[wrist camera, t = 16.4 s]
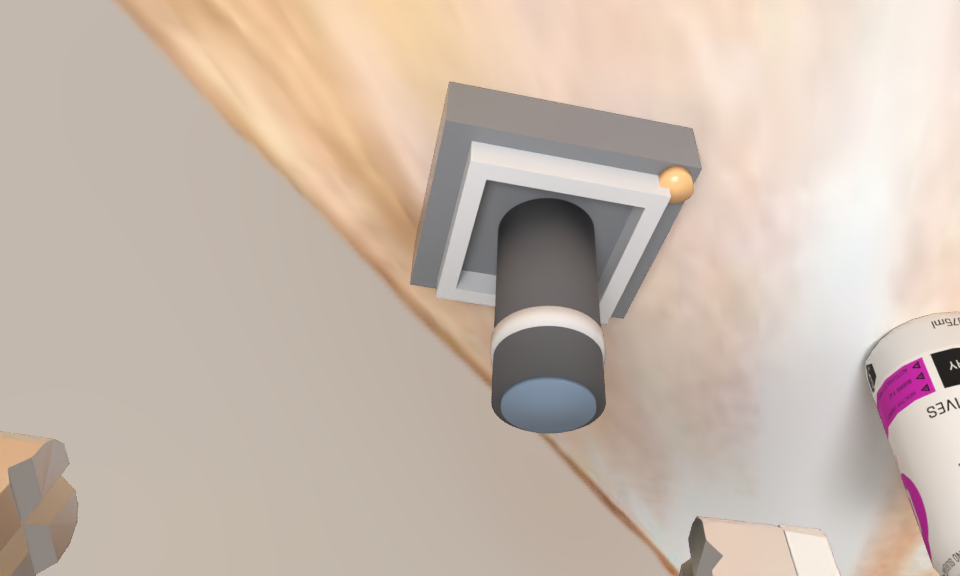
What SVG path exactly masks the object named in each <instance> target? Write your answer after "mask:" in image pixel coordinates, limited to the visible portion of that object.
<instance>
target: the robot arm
mask: <svg viewBox="0 0 960 576" xmlns="http://www.w3.org/2000/svg"><path fill="white" fill-rule="evenodd" d="M68 465H69V460H68V456H67V452H66V448H65V445H64V443H62V442H60V441H58V440H56V439H51V438H44V437H37V436H31V435H24V434H17V433H10V432H3V431H0V576H36V574H38V573H39V572H41V571H43V570H45V569H46V568H48V567H50V566H52V565H54V564H55V563H57V562H58V561H59V559H60V558H61V556H62V555H63V553H64V552H65V550H66V549H67V547H68V546H69V544H70V542H71V539H72V536H73V533H74V530H75V527H76V524H77V519H78V501H77V496H76V491H75V489H74V488H73V487H72V486H71V485H70V484H69V483H68V482H67V481H66V480H65V479H64V478H63V477H62V476H61V474H62V473H63V472H64V470H65V469H66V468H67V466H68ZM688 541H689V547H690V553H691V558H690V559H689V560H688V561H686V562H685V563H684V564H682V565H681V569H680V574H679V576H841V575H840V572H839V569H838V567H837V564H836V561H835V559H834V556H833V553H832V551H831V548H830V545H829V543H828V540H827V537H826V535H825V534H824V533H823V532H822V531H821V530H820V529H813V528H803V527H794V526H784V525H778V526H775V525H770V524H761V523H753V522H744V521H735V520H726V519H717V518H708V517H699V516H697V517H696V519H695V521H694V522H693V524H692V527H691V531H690V535H689V538H688Z"/></svg>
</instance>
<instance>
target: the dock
mask: <svg viewBox="0 0 960 576" xmlns="http://www.w3.org/2000/svg"><path fill="white" fill-rule="evenodd" d="M701 169H702V167H701V163H700V159H699V154H698V150H697V146H696V142H695V137H694V133H693V129H691V128H686V127H681V126H676V125H671V124H666V123H660V122H655V121H650V120H645V119H640V118H635V117H629V116H624V115H619V114H614V113H609V112H604V111H599V110H593V109H588V108H583V107H578V106H573V105H568V104H562V103H557V102H552V101H547V100H542V99H537V98H531V97H526V96H521V95H516V94H511V93H506V92H501V91H495V90H490V89H485V88H480V87H475V86H470V85H464V84H459V83H454V82H449V85H448V90H447V94H446V99H445V104H444V109H443V113H442V118H441V123H440V128H439V132H438V137H437V142H436V147H435V151H434V156H433V161H432V165H431V170H430V175H429V180H428V184H427V189H426V194H425V199H424V203H423V208H422V213H421V218H420V222H419V227H418V232H417V237H416V241H415V247H414V255H413V264H412V272H411V281H410V284H411V285H417V286H424V287H430V288H436V298H442V299H449V300H455V301H461V302H468V303H474V304H480V305H487V306H493V307H495V297H496V271H497V244H498V228H499V224H500V221H501V220H502V218H503V217H504V215H505V214H506V213H507V212H508V211H509V210H511V209H512V208H513V207H515V206H517V205H519V204H521V203H523V202H526V201H529V200H533V199H540V198H554V199H561V200H565V201H568V202H571V203H573V204H575V205H577V206H579V207H580V208H582V209H583V210H584V211H585V212H586V213H587V214H588V215H589V216H590V218H591V220H592V222H593V225H594V232H595V247H596V263H597V278H598V293H599V308H600V323H601V324H606V325H607V323H608V321H609V319H610V317H617V318H624V316H625V314H626V313H627V311H628V309H629V307H630V305H631V303H632V301H633V299H634V297H635V295H636V293H637V291H638V290H639V288H640V286H641V284H642V282H643V280H644V278H645V276H646V274H647V272H648V270H649V268H650V267H651V265H652V263H653V261H654V259H655V257H656V255H657V253H658V251H659V249H660V247H661V245H662V244H663V242H664V240H665V238H666V236H667V234H668V232H669V230H670V228H671V226H672V224H673V223H674V221H675V219H676V217H677V215H678V213H679V211H680V209H681V207H682V205H683V203H684V201H685V200H687V199H688V198H689V197H690V196H691V195H692V194H693V191H694V186H693V184H694V182H695V180H696V178H697V177H698V175H699V173H700V171H701Z"/></svg>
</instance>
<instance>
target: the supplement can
mask: <svg viewBox="0 0 960 576" xmlns="http://www.w3.org/2000/svg"><path fill="white" fill-rule="evenodd" d="M866 378H867V381H868V383H869V386H870V389H871V392H872V395H873V398H874V401H875V403H876V406H877V409H878V412H879V415H880V418H881V420H882V423H883V426H884V429H885V432H886V435H887V438H888V440H889V443H890V446H891V449H892V452H893V455H894V458H895V460H896V463H897V466H898V469H899V472H900V475H901V477H902V480H903V483H904V486H905V489H906V492H907V495H908V497H909V500H910V503H911V506H912V509H913V512H914V514H915V517H916V520H917V523H918V526H919V529H920V532H921V534H922V537H923V540H924V543H925V546H926V549H927V551H928V554H929V557H930V560H931V563H932V566H933V568H934V569H935V570H936V571H937V572H938V573H939V574H940V575H941V576H960V312H948V313H935V314H931V315H927V316H924V317H920V318H916V319H913V320H910V321H909V322H907V323H905V324H903V325H901V326H899V327H897V328H895V329H893V330H892V331H890V332H889V333H888V334H887V335H886V336H884V337H883V338H882V339H881V340H880V341H879V342H878V344H877V346H876V347H875V348H874V349H873V351H872V352H871V354H870V356H869V357H868V359H867V361H866Z"/></svg>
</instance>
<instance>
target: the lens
mask: <svg viewBox="0 0 960 576" xmlns="http://www.w3.org/2000/svg"><path fill="white" fill-rule="evenodd" d="M491 362H492V365H493V375H492V408H493V410H494V412H495V413H496V415H497V416H498V417H499V418H500V419H501V420H503V421H504V422H506V423H508V424H509V425H512V426H514V427H516V428H519V429H522V430H526V431H531V432H536V433H561V432H567V431H572V430H575V429H579V428H581V427H584V426H586V425H588V424H590V423H592V422H593V421H595V420H596V419H597V418H598V417H599V416H600V415H601V414H602V412H603V411H604V409H605V405H606V399H605V384H604V369H603V365H604V362H605V349H604V335H603V332H602V330H601V323H600V308H599V293H598V278H597V263H596V247H595V232H594V225H593V222H592V220H591V218H590V216H589V215H588V214H587V213H586V212H585V211H584V210H583V209H582V208H580V207H579V206H577V205H575V204H573V203H571V202H568V201H565V200H561V199H554V198H540V199H533V200H529V201H526V202H523V203H521V204H519V205H517V206H515V207H513V208H512V209H511V210H509V211H508V212H507V213H506V214H505V215H504V217H503V218H502V220H501V221H500V224H499V228H498V244H497V271H496V297H495V323H494V331H493V334H492V343H491Z"/></svg>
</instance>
